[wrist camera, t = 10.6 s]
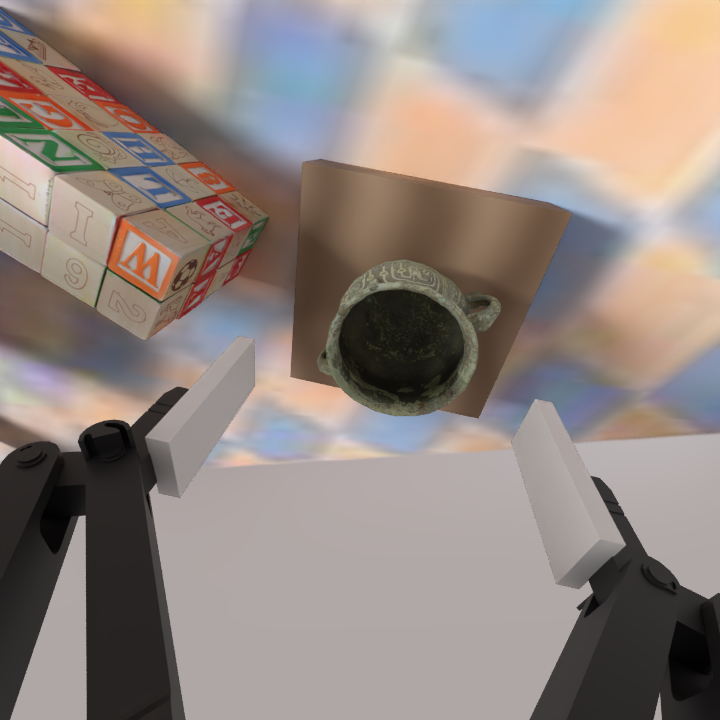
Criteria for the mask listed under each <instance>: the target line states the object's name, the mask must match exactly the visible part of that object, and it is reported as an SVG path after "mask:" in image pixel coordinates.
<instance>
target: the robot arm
mask: <svg viewBox="0 0 720 720" xmlns="http://www.w3.org/2000/svg"><path fill="white" fill-rule="evenodd" d="M254 387H255V339H251V338H246V337H242V336H238V337H237V338H236V339H235V341H234V342H233V343H232V344H231V345H230V346H229V347H228V348H227V349H226V350H225V351H224V352H223V353H222V355H221V356H220V357H219V358H218V359H217V360H216V361H215V362H214V363H213V364H212V365H211V366H210V368H209V369H208V370H207V371H206V372H205V373H204V374H203V375H202V376H201V377H200V378H199V379H198V380H197V382H196V383H195V384H194V385H193V386H192V387H191V388H190V389H186V388H182V387H176V388H174V389H172V390H170V391H168V392H166V393H164V394H163V395H162V396H161V397H160V398H159V399H158V400H157V401H156V403H155V404H153V405H152V406H151V407H150V408H149V409H148V412H147V411H146V412H145V413H144V414H143V415H142V416H141V417H140V418H139V419H138V420H137V421H136V422H135V423H134V424H133V425H132V426H131V427H130V426H129V424H128V423H126V422H124V421H120V420H107V421H102V422H99V423H96V424H94V425H92V426H91V427H89V428H87V429H86V430H85V431H84V432H83V433H82V434H81V435H80V437H79V440H78V443H79V446H80V448H81V451H82V452H64V453H61V451H60V449H59V448H58V446H57V445H56V444H54V443H52V442H41V441H40V442H35V443H30V444H27V445H24V446H22V447H20V448H17V449H16V450H14V451H13V452H11V453H10V454H8V456H7V457H6V458H5V459H4V460H3V461H2V463H1V464H0V720H10V718H11V715H12V712H13V709H14V706H15V703H16V700H17V697H18V694H19V691H20V688H21V685H22V682H23V679H24V676H25V674H26V670H27V668H28V664H29V662H30V659H31V656H32V653H33V649H34V647H35V644H36V641H37V638H38V635H39V632H40V629H41V626H42V623H43V620H44V617H45V615H46V611H47V609H48V605H49V603H50V600H51V597H52V594H53V591H54V588H55V585H56V582H57V579H58V576H59V573H60V570H61V567H62V564H63V561H64V558H65V556H66V553H67V550H68V546H69V544H70V541H71V538H72V535H73V532H74V529H75V526H76V523H77V520H78V517H79V516H83V515H86V646H87V647H86V648H87V649H86V651H87V653H86V654H87V655H86V656H87V720H186V719H185V713H184V707H183V701H182V695H181V689H180V683H179V676H178V670H177V663H176V657H175V651H174V645H173V639H172V632H171V626H170V619H169V613H168V607H167V601H166V594H165V589H164V583H163V576H162V569H161V563H160V557H159V550H158V544H157V539H156V532H155V526H154V520H153V513H152V507H151V500H150V495H149V492H150V490H151V489H152V488H153V486H154V485H155V484H156V483H157V487H158V491H159V493H161V494H165V495H170V496H174V497H178V498H180V497H181V496H182V494H183V493H184V491H185V490H186V488H187V487H188V485H189V484H190V482H191V481H192V479H193V478H194V476H195V475H196V473H197V472H198V470H199V469H200V467H201V466H202V464H203V463H204V461H205V460H206V458H207V457H208V455H209V454H210V452H211V451H212V450H213V448H214V447H215V445H216V444H217V442H218V441H219V439H220V438H221V436H222V435H223V433H224V432H225V430H226V429H227V427H228V426H229V424H230V423H231V421H232V420H233V418H234V417H235V415H236V414H237V412H238V411H239V409H240V408H241V406H242V405H243V403H244V402H245V400H246V399H247V397H248V396H249V394H250V393H251V391H252V390H253V388H254ZM511 442H512V446H513V449H514V452H515V455H516V458H517V461H518V464H519V468H520V471H521V474H522V477H523V480H524V484H525V487H526V490H527V493H528V496H529V499H530V503H531V506H532V509H533V512H534V515H535V518H536V522H537V525H538V528H539V531H540V534H541V537H542V541H543V543H544V547H545V550H546V553H547V556H548V560H549V563H550V566H551V569H552V572H553V575H554V579H555V581H556V584H558V585H563V586H567V587H571V588H576V589H580V588H581V587H582V586H583V585H584V584H585V583H586V582H587V581H588V580H589V583H590V585H591V588H592V590H593V593H592V594H591V595H590V596H589V597H588V598H587V599H585V600H584V601H583V602H582V603H581V604H580V605H579V606H578V607H577V609H578V610H579V611H580V610H581V609H582V608H583V609H582V611H581V613H580V615H579V617H578V620H577V622H576V624H575V626H574V628H573V630H572V632H571V634H570V636H569V638H568V640H567V643H566V645H565V647H564V649H563V651H562V653H561V655H560V657H559V659H558V661H557V663H556V666H555V668H554V670H553V672H552V674H551V676H550V678H549V680H548V682H547V684H546V686H545V689H544V691H543V693H542V695H541V697H540V699H539V702H538V703H537V705H536V707H535V709H534V712H533V714H532V716H531V718H530V720H653V719H654V715H655V710H656V706H657V702H658V698H659V694H660V697H661V712H662V720H720V593H718V594H716V595H715V596H713V597H712V598H710V599H707V598H705V597H703V596H701V595H699V594H697V593H695V592H693V591H691V590H689V589H686V588H685V587H683V586H681V585H680V584H679V582H678V580H677V579H676V578H675V576H674V575H673V574H672V573H671V572H670V570H668V569H667V568H666V567H665V566H664V565H663V564H661V563H660V562H659V561H657V560H655V559H653V558H652V557H649V556H648V555H647V553H646V552H645V550H644V548H643V546H642V544H641V543H640V541H639V539H638V537H637V535H636V534H635V532H634V530H633V528H632V527H631V525H630V523H629V521H628V519H627V518H626V517H625V516H624V512H623V510H622V509H621V507H620V506H618V504H619V503H618V501H617V500H616V498H615V496H614V494H613V493H612V491H611V490H610V489H609V488H608V486H607V485H606V484H605V483H604V482H603V481H602V480H601V479H600V478H597V477H593V476H590V475H589V473H588V471H587V469H586V467H585V465H584V463H583V461H582V459H581V457H580V455H579V454H578V452H577V450H576V448H575V446H574V444H573V442H572V440H571V438H570V436H569V434H568V432H567V430H566V428H565V427H564V425H563V423H562V421H561V419H560V417H559V415H558V413H557V411H556V409H555V407H554V405H553V404H552V402H547V401H543V400H538V399H535V400H534V402H533V404H532V405H531V407H530V409H529V411H528V412H527V414H526V416H525V418H524V420H523V421H522V423H521V425H520V427H519V428H518V430H517V432H516V434H515V436H514V437H513V439H512V441H511Z"/></svg>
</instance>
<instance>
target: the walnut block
mask: <svg viewBox="0 0 720 720" xmlns="http://www.w3.org/2000/svg"><path fill="white" fill-rule="evenodd" d="M571 215H572V213H570V212H568V211H566V210H564V209H562V208H560V207H557V206H555V205H553V204H551V203H548V202H543V201H538V200H533V199H527V198H522V197H517V196H512V195H506V194H501V193H496V192H491V191H485V190H480V189H475V188H470V187H464V186H459V185H454V184H448V183H443V182H438V181H433V180H427V179H422V178H417V177H412V176H406V175H401V174H396V173H391V172H385V171H380V170H375V169H370V168H364V167H359V166H354V165H349V164H343V163H338V162H333V161H328V160H322V159H319V160H312V161H305V162H303V163H302V181H301V199H300V216H299V234H298V252H297V270H296V287H295V305H294V323H293V341H292V359H291V376H290V377H293V378H298V379H302V380H307V381H311V382H316V383H320V384H325V385H329V386H334V387H338V388H340V387H339V385H338V384H337V383H336V381H335V380H334V378H333V376H329V375H327V374H325V373H323V372H321V371H320V370H319V368H318V365H317V359H318V357H319V355H320V353H321V352H322V350H323V349H324V348H325V347H326V344H327V339H328V334H329V328H330V324H331V322H332V321H333V319H334V318H335V316H336V314H337V313H338V311H339V307H340V302H341V299H342V298H343V296H344V295H345V293H346V292H347V290H348V289H349V287H350V286H351V284H352V283H353V281H354V280H355V279H357V278H358V277H360V276H361V275H363V274H364V273H366V272H367V271H368V270H370V269H371V268H373V267H374V266H376V265H379V264H382V263H384V262H389V261H396V260H404V259H406V260H410V261H414V262H418V263H421V264H425V265H427V266H430V267H432V268H433V269H435V270H436V271H438V272H439V273H441V274H442V275H444V276H446V277H447V278H449V279H450V280H452V281H453V282H454V284H455V285H456V286H457V287H458V288H459V290H460V291H461V293H462V294H463V296H464V295H465V294H467V293H470V292H474V291H480V292H481V294H482V295H490V296H493V297H495V298H496V299H497V300H498V301H499V303H500V304H501V311H500V314H499V315H498V317H497V318H496V320H495V321H494V322H493V324H492V325H491V327H490V328H488V329H487V330H486V331H484V332H478V333H476V335H477V340H478V360H477V365H476V369H475V371H474V373H473V375H472V377H471V379H470V381H469V383H468V385H467V387H466V389H465V390H464V391H463V392H462V393H461V394H460V395H459V396H457V397H456V398H455V399H454V400H453V401H452V402H451V403H449V404H448V405H446V406H444V407H442V408H440V409H438V410H442V411H447V412H451V413H456V414H461V415H465V416H470V417H474V418H479V416H480V414H481V412H482V409H483V407H484V405H485V403H486V401H487V399H488V396H489V394H490V392H491V390H492V388H493V385H494V383H495V381H496V379H497V377H498V375H499V372H500V370H501V368H502V366H503V364H504V361H505V359H506V357H507V355H508V353H509V351H510V348H511V346H512V344H513V342H514V340H515V337H516V335H517V333H518V331H519V329H520V327H521V324H522V322H523V320H524V318H525V316H526V313H527V311H528V309H529V307H530V305H531V303H532V300H533V298H534V296H535V294H536V292H537V289H538V287H539V285H540V283H541V281H542V279H543V276H544V274H545V272H546V270H547V268H548V265H549V263H550V261H551V259H552V257H553V255H554V252H555V250H556V248H557V246H558V244H559V241H560V239H561V237H562V235H563V233H564V231H565V228H566V226H567V224H568V222H569V220H570V217H571ZM486 307H488V306H485V307H480V308H476V309H473V310H471V311H470V314H472V313H474V312H478V311H481V310H483V309H485V308H486Z"/></svg>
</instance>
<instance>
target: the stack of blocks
mask: <svg viewBox="0 0 720 720" xmlns="http://www.w3.org/2000/svg"><path fill="white" fill-rule="evenodd" d="M267 219H268V215H267V214H265V213H264V212H263V211H262V210H260V209H259V208H258V207H256V206H255V205H254V204H253V203H251V202H250V201H249V200H247V199H246V198H245V197H244V196H242V195H241V194H240V193H239V192H237V191H236V189H235V188H234V187H233V186H231V185H230V184H229V183H227V182H226V181H225V180H224V179H222V178H221V177H220V176H218V175H217V174H216V173H214V172H213V171H212V170H211V169H209V168H208V167H207V166H206V165H204V164H203V163H201V162H200V161H199V160H198V159H197V158H195V157H194V156H193V155H192V154H190V153H189V152H188V151H186V150H185V149H184V148H183V147H181V146H180V145H179V144H177V143H176V142H175V141H173V140H172V139H171V138H170V137H168V136H167V135H165V134H162V133H160V132H159V131H158V130H157V129H156V128H154V127H153V126H151V125H150V124H149V123H147V122H146V121H145V120H144V119H142V118H141V117H140V116H138V115H137V114H136V113H135V112H133V111H132V110H131V109H129V108H128V107H127V106H125V105H122V104H121V103H120V102H119V101H118V100H116V99H115V98H114V97H113V96H111V95H110V94H109V93H108V92H106V91H105V90H104V89H102V88H101V87H99V86H98V85H97V84H96V83H94V82H93V81H92V80H90V79H89V78H88V77H86V76H85V75H83V74H82V72H81V70H80V69H79V68H77V67H76V66H75V65H73V64H72V63H71V62H69V61H68V60H67V59H66V58H64V57H63V56H62V55H60V54H59V53H58V52H57V51H55V50H54V49H53V48H51V47H50V46H49V45H48V44H46V43H45V42H44V41H42V40H41V39H39V38H37V37H36V36H35V35H34V34H33V33H31V32H30V31H29V30H28V29H26V28H25V27H24V26H22V25H21V24H20V23H18V22H17V21H16V20H14V19H13V18H12V17H11V16H9V15H8V14H7V13H5V12H4V11H3V10H1V9H0V250H1V251H2V252H4V253H6V254H7V255H9V256H11V257H12V258H14V259H16V260H17V261H19V262H20V263H22V264H23V265H25V266H27V267H28V268H30V269H32V270H34V271H36V272H38V273H40V274H41V275H42V276H43V277H44V278H46V279H47V280H49V281H50V282H52V283H54V284H56V285H57V286H59V287H60V288H62V289H64V290H65V291H67V292H68V293H70V294H72V295H73V296H75V297H76V298H78V299H80V300H81V301H83V302H85V303H86V304H88V305H89V306H91V307H94V308H96V309H97V311H98V312H99V313H101V314H102V315H104V316H105V317H107V318H109V319H110V320H112V321H113V322H115V323H117V324H118V325H120V326H121V327H123V328H125V329H126V330H128V331H129V332H131V333H133V334H134V335H136V336H137V337H139V338H140V339H143V340H147V339H149V338H150V337H151V336H153V335H154V334H156V333H157V332H158V331H160V330H161V329H162V328H164V327H165V326H167V325H168V324H169V323H171V322H172V321H173V320H174V319H175V318H176V319H180V318H181V317H183V316H184V315H186V314H187V313H188V312H190V311H191V310H192V309H194V308H195V307H197V306H198V305H199V304H200V303H201V302H202V301H203V300H205V299H206V298H207V297H208V296H210V295H211V294H212V293H214V292H215V291H216V290H218V289H219V288H220V287H222V286H224V285H225V284H226V283H228V282H229V281H231V280H232V279H233V278H235V277H236V276H237V275H238V274H239V272H240V270H241V268H242V266H243V265H244V263H245V261H246V259H247V257H248V255H249V253H250V252H251V250H252V247H253V245H254V243H255V241H256V239H257V237H258V236H259V234H260V232H261V230H262V228H263V227H264V225H265V223H266V221H267Z"/></svg>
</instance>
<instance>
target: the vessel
mask: <svg viewBox="0 0 720 720" xmlns="http://www.w3.org/2000/svg"><path fill="white" fill-rule="evenodd" d="M485 306H488V307H486V308H485V309H483V310H481V311H478V312H474V313H472V314H470V311H471V310H473V309H476V308H480V307H485ZM500 311H501V304H500V303H499V301H498V300H497V299H496V298H495V297H493V296H490V295H482V294H481V292H480V291H474V292H470V293H467V294H465V295H464V296H463V294H462V293H461V291H460V290H459V288H458V287H457V286H456V285H455V284H454V282H453V281H452V280H450V279H449V278H447V277H446V276H444V275H442V274H441V273H439V272H438V271H436V270H435V269H433V268H432V267H430V266H427V265H425V264H421V263H418V262H414V261H410V260H406V259H404V260H396V261H389V262H384V263H382V264H379V265H376V266H374V267H373V268H371V269H370V270H368V271H367V272H366V273H364V274H363V275H361V276H360V277H358V278H357V279H355V280H354V281H353V283H352V284H351V286H350V287H349V289H348V290H347V292H346V293H345V295H344V296H343V298H342V299H341V302H340V307H339V311H338V313H337V314H336V316H335V318H334V319H333V321H332V322H331V324H330V328H329V334H328V339H327V344H326V347H325V348H324V349H323V350H322V352H321V353H320V355H319V357H318V359H317V365H318V368H319V370H320V371H321V372H323V373H325V374H327V375H329V376H333V378H334V380H335V381H336V383H337V384H338V385H339V387H340V388H341V389H342V390H343V391H344V392H345V393H346V394H347V395H348V396H350V397H351V398H352V399H353V400H355V401H357V402H358V403H360V404H362V405H364V406H366V407H368V408H370V409H372V410H374V411H377V412H381V413H385V414H389V415H393V416H418V415H424V414H428V413H432V412H434V411H436V410H438V409H440V408H442V407H444V406H446V405H448V404H449V403H451V402H452V401H453V400H454V399H455V398H456V397H457V396H459V395H460V394H461V393H462V392H463V391H464V390H465V389H466V387H467V385H468V383H469V381H470V379H471V377H472V375H473V373H474V371H475V369H476V365H477V360H478V340H477V335H476V333H478V332H484V331H486V330H487V329H488V328H490V327H491V325H492V324H493V322H494V321H495V320H496V318H497V317H498V315H499V314H500Z"/></svg>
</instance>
